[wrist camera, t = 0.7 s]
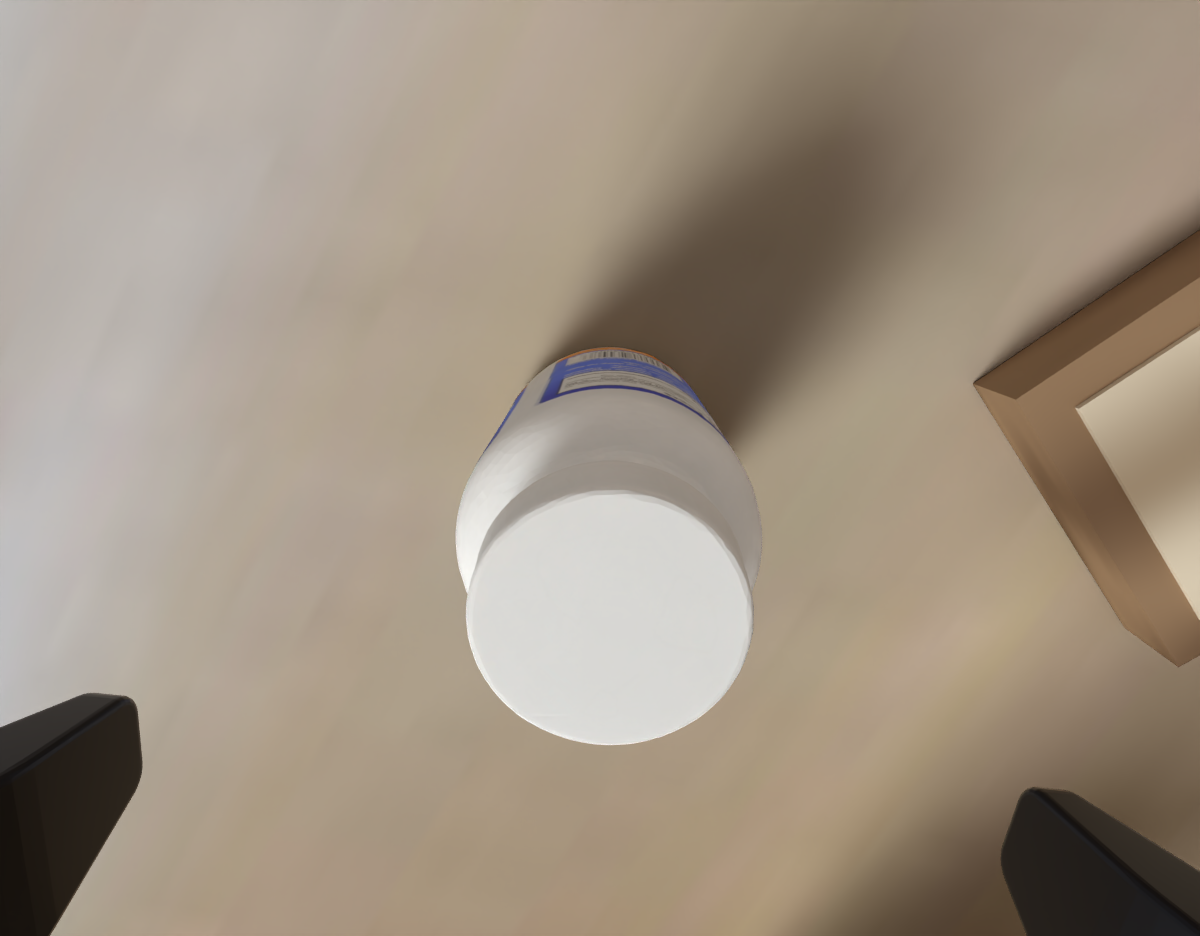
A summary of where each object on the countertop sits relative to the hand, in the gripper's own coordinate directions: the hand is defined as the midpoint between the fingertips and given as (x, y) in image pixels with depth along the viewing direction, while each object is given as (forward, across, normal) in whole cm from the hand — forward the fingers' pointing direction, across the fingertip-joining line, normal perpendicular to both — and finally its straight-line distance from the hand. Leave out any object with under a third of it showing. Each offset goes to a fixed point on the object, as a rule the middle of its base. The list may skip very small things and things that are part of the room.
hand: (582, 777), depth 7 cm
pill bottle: (+12, 0, 0) cm, 13 cm away
